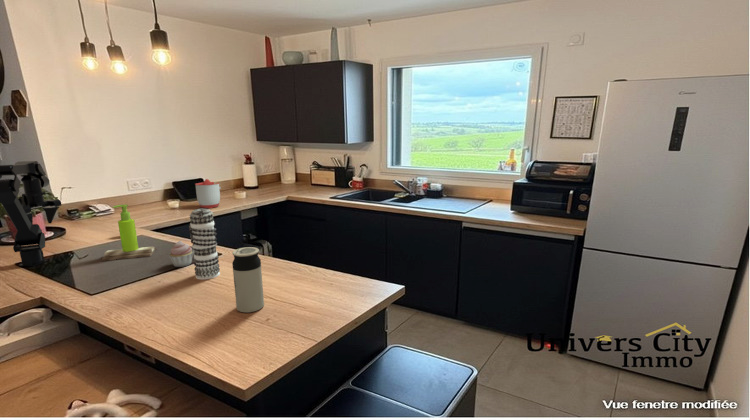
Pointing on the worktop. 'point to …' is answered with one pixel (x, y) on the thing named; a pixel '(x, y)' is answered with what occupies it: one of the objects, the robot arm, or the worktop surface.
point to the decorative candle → (204, 244)
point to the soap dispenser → (127, 230)
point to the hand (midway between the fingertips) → (40, 225)
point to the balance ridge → (128, 253)
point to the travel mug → (248, 279)
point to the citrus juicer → (208, 194)
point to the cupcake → (181, 254)
